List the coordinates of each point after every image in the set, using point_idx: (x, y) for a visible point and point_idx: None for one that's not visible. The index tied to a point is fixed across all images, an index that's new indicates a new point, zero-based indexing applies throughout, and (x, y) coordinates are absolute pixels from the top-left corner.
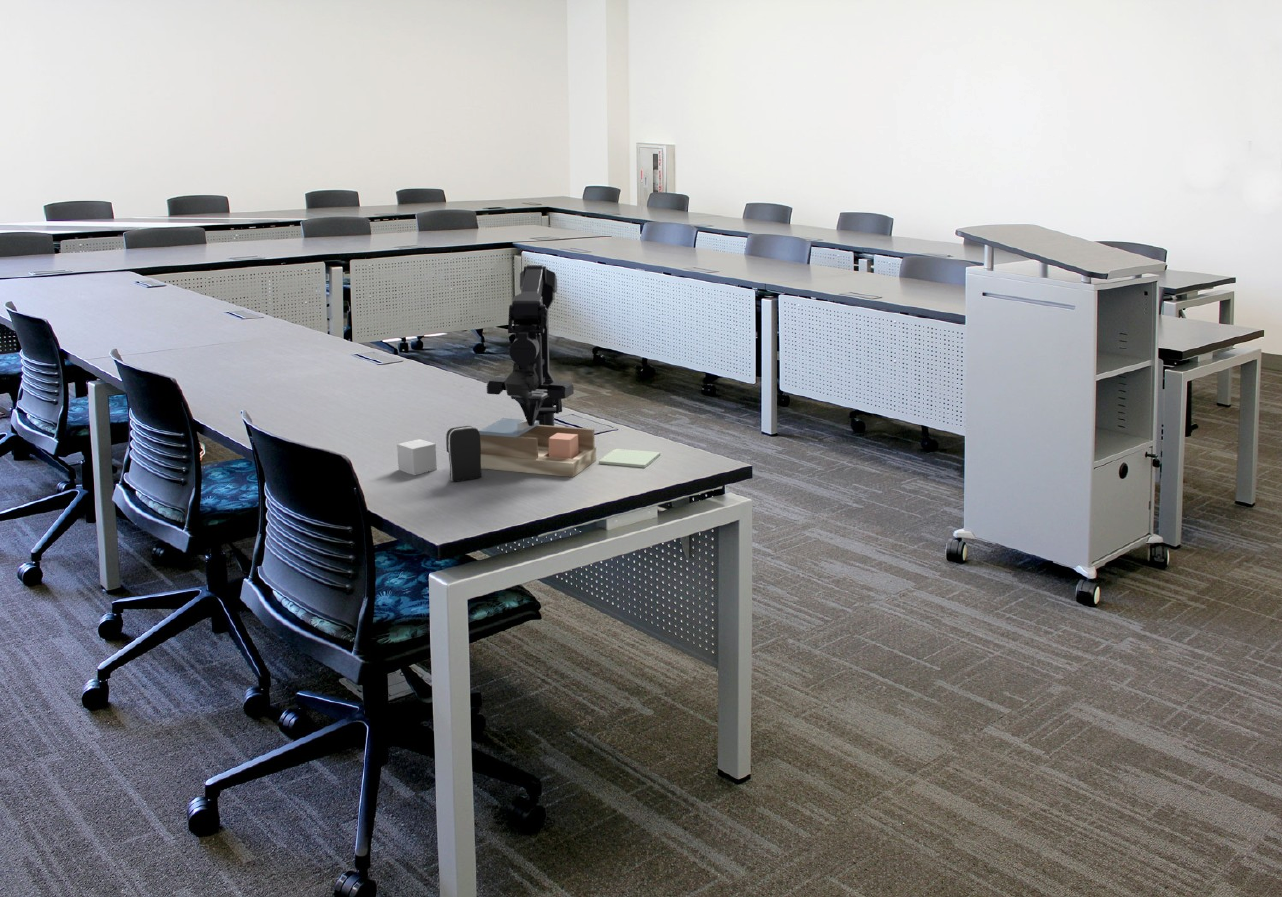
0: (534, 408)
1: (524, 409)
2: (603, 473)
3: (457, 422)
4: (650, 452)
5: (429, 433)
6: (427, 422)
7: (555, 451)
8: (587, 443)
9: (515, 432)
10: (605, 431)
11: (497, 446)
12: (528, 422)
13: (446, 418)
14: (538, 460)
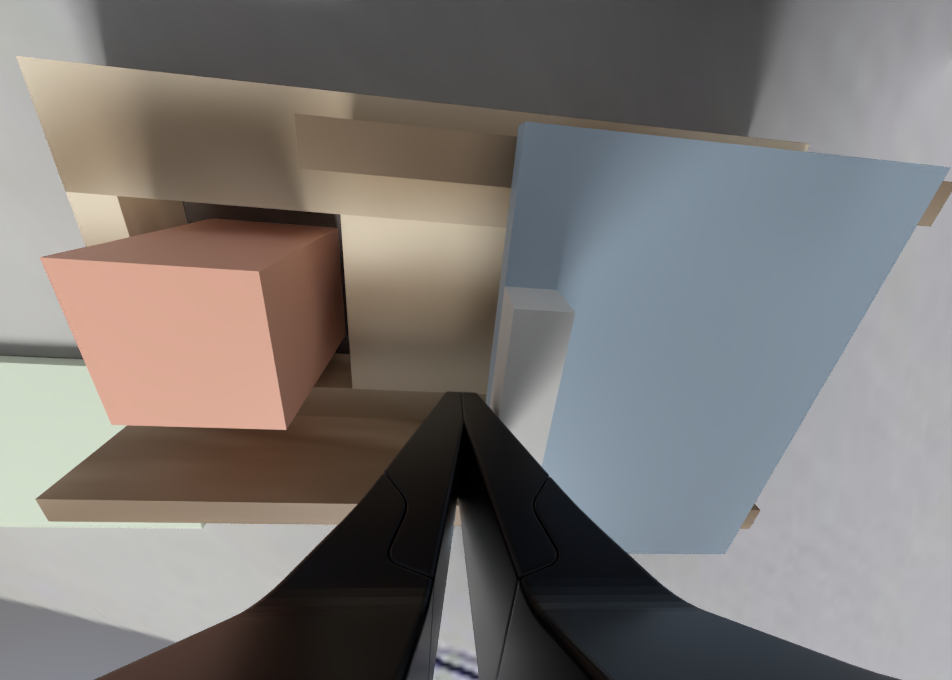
0: (349, 526)
1: (537, 503)
2: (5, 204)
3: (816, 634)
4: (34, 518)
5: (912, 544)
6: (905, 619)
7: (249, 243)
8: (156, 432)
9: (551, 187)
10: None
11: None
12: (477, 403)
13: (847, 652)
14: (317, 90)
